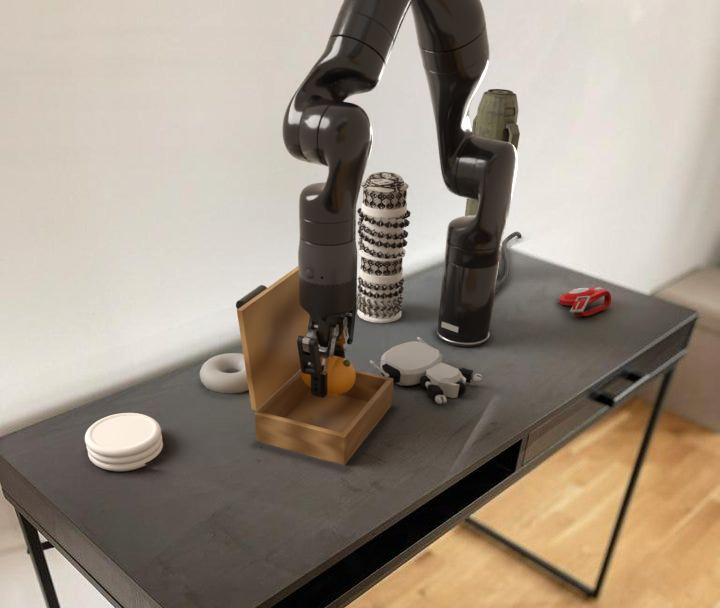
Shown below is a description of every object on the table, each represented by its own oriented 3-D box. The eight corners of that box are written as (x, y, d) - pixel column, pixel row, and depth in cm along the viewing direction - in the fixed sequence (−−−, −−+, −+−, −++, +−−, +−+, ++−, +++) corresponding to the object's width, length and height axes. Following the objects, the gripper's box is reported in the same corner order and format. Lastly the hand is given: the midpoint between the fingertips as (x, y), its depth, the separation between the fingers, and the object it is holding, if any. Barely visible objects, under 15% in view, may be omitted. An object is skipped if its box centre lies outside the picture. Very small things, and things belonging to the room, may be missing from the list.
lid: (305, 264, 108) (275, 261, 110) (242, 310, 95) (209, 306, 97) (313, 356, 116) (286, 352, 118) (256, 410, 103) (226, 405, 105)
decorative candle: (396, 327, 139) (405, 186, 124) (348, 319, 141) (351, 179, 126) (409, 307, 146) (419, 172, 131) (363, 300, 148) (367, 166, 133)
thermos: (482, 287, 155) (508, 99, 134) (442, 269, 162) (461, 88, 141) (512, 278, 159) (541, 94, 138) (472, 261, 167) (493, 84, 146)
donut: (191, 395, 117) (253, 402, 116) (188, 375, 115) (251, 382, 114) (214, 365, 125) (272, 371, 124) (211, 346, 123) (270, 352, 122)
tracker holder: (550, 291, 151) (598, 278, 151) (553, 313, 153) (600, 299, 153) (572, 302, 140) (624, 288, 140) (575, 325, 142) (626, 311, 142)
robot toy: (484, 392, 122) (412, 355, 129) (489, 368, 119) (416, 331, 126) (437, 421, 115) (364, 380, 122) (442, 396, 112) (367, 355, 119)
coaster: (74, 453, 104) (68, 431, 102) (134, 424, 110) (130, 403, 108) (118, 482, 99) (113, 460, 97) (178, 450, 105) (175, 429, 103)
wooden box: (391, 409, 116) (393, 378, 112) (344, 469, 103) (344, 437, 99) (311, 389, 120) (311, 359, 117) (256, 445, 107) (254, 413, 104)
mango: (294, 391, 107) (293, 358, 104) (311, 375, 111) (310, 342, 108) (346, 404, 105) (346, 370, 101) (361, 387, 108) (362, 353, 105)
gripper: (330, 296, 91) (330, 416, 101) (376, 257, 101) (372, 369, 111) (275, 285, 93) (280, 404, 103) (325, 247, 103) (326, 358, 114)
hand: (328, 385), depth 107 cm, fingers closed on mango, 5 cm apart
